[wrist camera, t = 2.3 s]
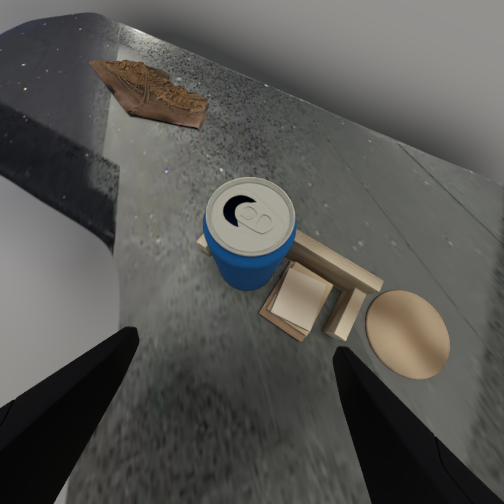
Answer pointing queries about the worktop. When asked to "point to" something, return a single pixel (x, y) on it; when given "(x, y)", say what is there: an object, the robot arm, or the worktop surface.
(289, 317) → the offcut stack
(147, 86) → the wooden fragment
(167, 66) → the worktop surface
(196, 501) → the worktop surface
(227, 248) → the beverage can
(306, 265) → the rack
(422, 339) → the cork coaster
